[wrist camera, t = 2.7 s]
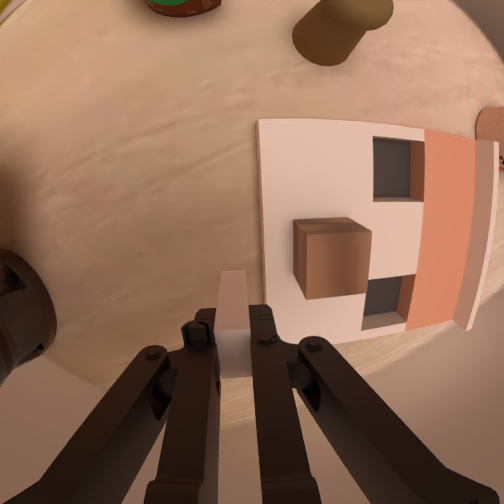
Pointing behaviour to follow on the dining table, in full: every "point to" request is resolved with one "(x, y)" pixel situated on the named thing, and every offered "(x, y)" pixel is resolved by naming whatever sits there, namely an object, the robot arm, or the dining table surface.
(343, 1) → the cork
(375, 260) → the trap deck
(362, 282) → the walnut block
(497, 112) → the teacup with lid
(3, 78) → the dining table surface
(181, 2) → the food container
